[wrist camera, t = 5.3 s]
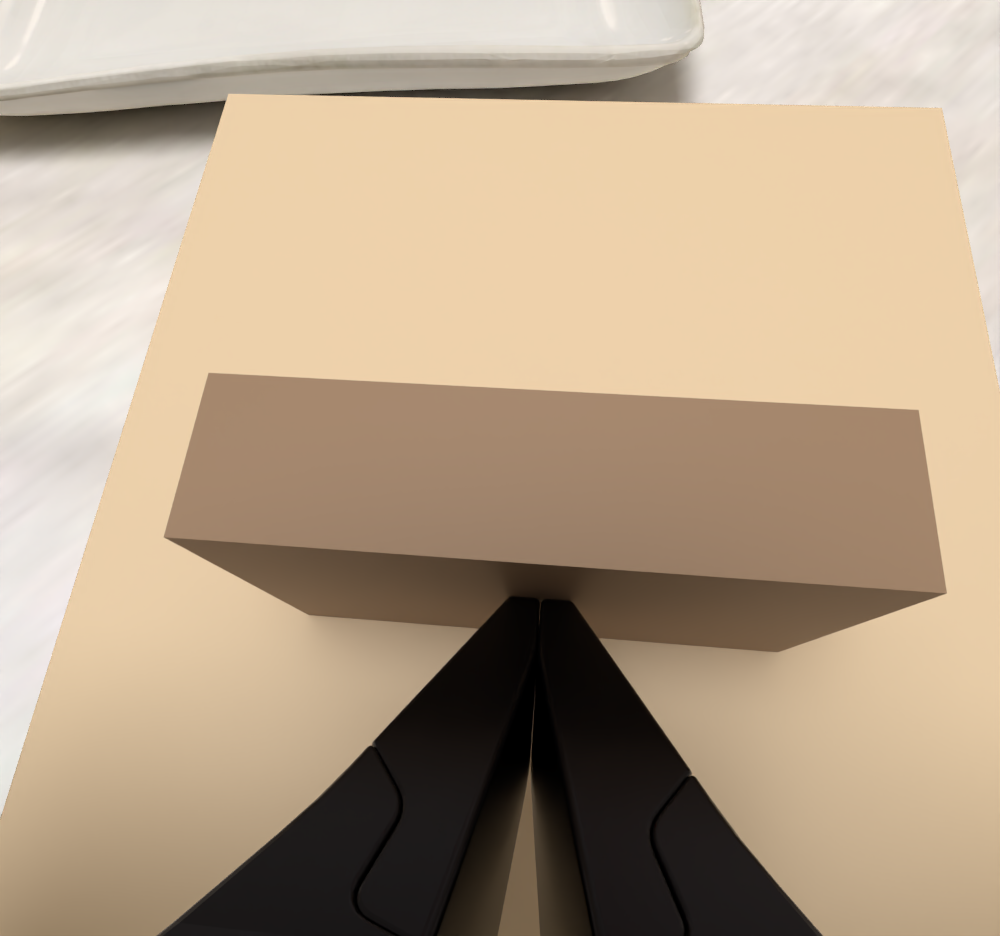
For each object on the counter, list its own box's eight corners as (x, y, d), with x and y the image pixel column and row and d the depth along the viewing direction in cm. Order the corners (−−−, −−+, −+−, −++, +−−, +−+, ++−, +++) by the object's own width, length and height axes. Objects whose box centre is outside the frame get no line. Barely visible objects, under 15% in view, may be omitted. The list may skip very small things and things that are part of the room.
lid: (1153, 1364, 9) (2167, 2394, 3) (-76, 1179, 10) (-801, 1705, 5) (923, 137, 16) (1116, -162, 11) (241, 121, 17) (110, -154, 12)
